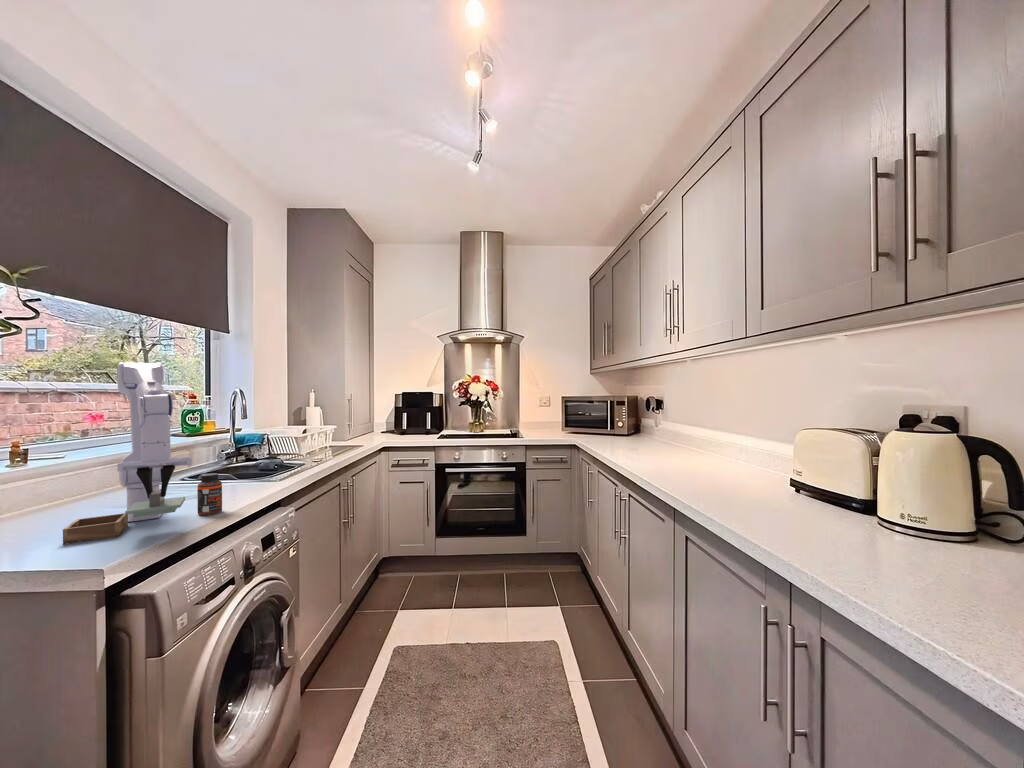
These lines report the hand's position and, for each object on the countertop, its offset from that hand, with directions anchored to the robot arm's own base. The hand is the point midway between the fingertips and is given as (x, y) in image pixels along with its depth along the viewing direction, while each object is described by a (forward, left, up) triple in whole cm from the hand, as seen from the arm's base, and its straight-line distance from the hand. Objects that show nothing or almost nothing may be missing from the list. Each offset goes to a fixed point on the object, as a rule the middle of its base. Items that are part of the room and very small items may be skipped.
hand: (156, 496), depth 112 cm
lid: (0, 0, -4) cm, 4 cm away
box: (-8, -13, -9) cm, 18 cm away
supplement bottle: (-15, +10, -9) cm, 20 cm away
